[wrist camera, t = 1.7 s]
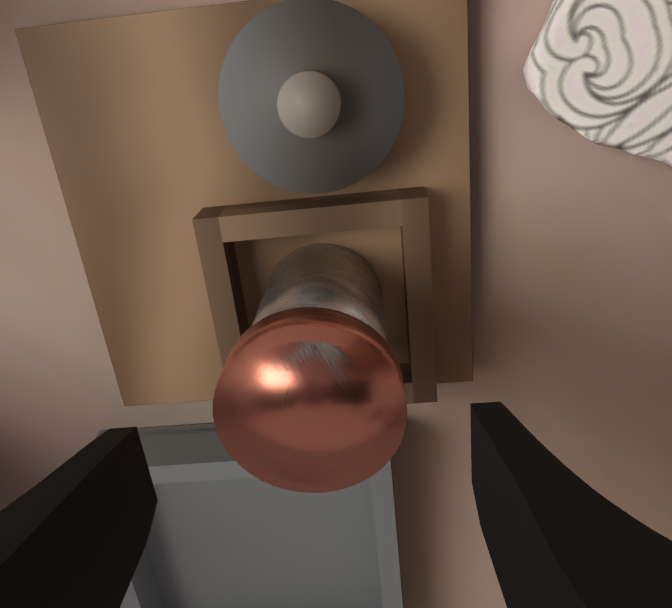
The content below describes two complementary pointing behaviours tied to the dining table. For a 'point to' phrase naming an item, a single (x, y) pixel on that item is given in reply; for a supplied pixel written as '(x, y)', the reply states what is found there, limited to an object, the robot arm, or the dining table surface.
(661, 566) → the robot arm
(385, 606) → the tray
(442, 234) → the board
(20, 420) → the dining table surface
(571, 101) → the cookie jar
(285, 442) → the pin
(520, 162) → the dining table surface
